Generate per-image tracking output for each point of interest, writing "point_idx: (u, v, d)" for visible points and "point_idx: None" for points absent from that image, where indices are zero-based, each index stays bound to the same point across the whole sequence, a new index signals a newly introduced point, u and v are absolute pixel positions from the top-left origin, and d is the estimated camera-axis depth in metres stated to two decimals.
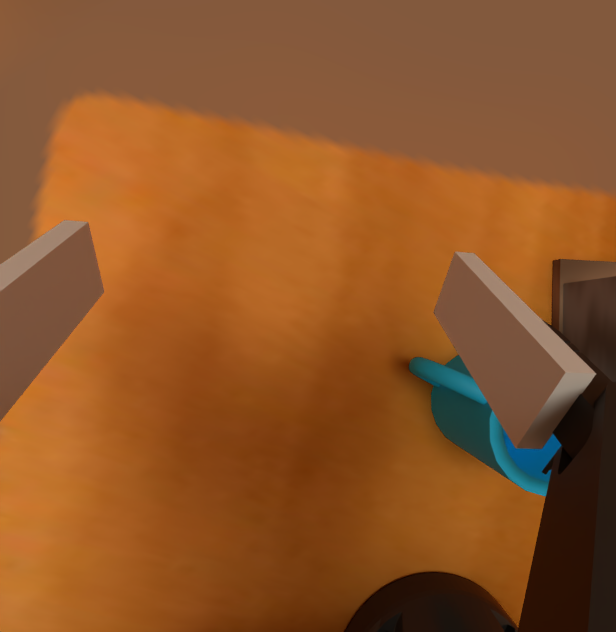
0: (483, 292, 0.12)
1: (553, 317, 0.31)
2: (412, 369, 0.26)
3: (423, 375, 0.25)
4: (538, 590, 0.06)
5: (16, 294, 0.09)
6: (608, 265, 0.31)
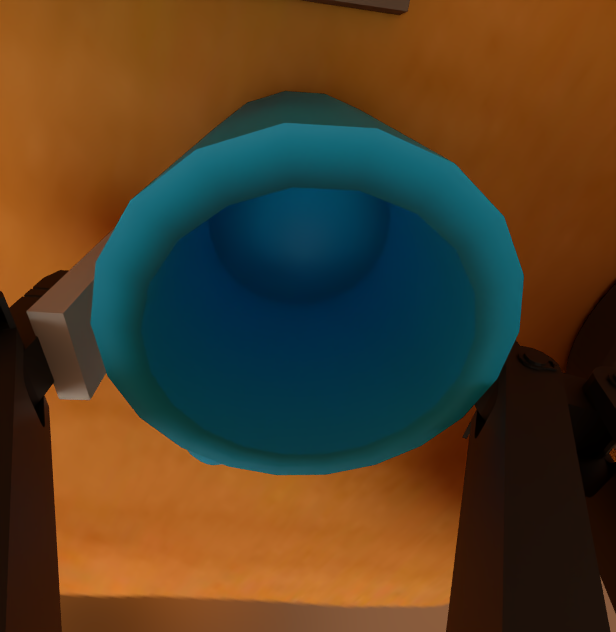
0: None
1: None
2: None
3: None
4: (464, 553, 0.07)
5: None
6: None
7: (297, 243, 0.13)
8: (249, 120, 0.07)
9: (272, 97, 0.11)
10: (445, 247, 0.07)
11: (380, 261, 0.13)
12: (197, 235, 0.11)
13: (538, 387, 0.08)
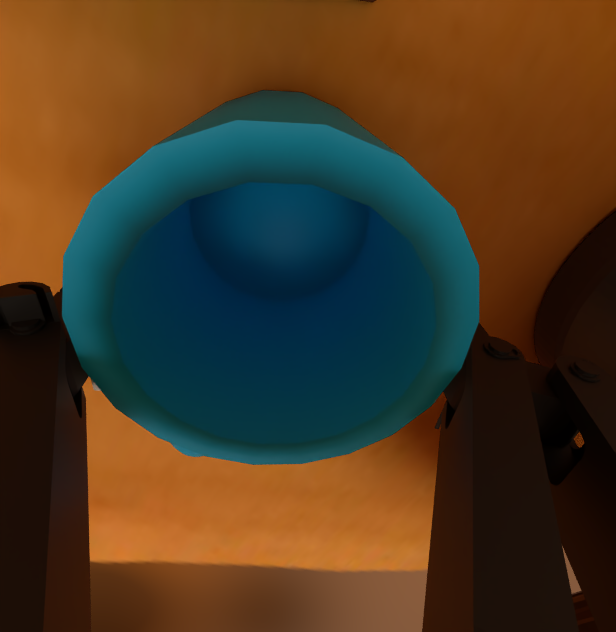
0: None
1: None
2: None
3: None
4: (438, 543, 0.07)
5: None
6: None
7: (278, 239, 0.13)
8: (213, 118, 0.07)
9: (248, 96, 0.11)
10: (406, 240, 0.07)
11: (360, 257, 0.14)
12: (177, 232, 0.11)
13: (503, 375, 0.08)
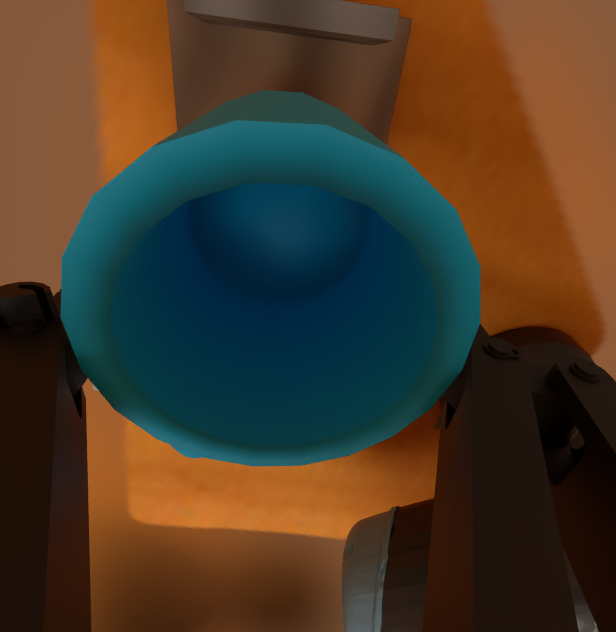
0: None
1: None
2: None
3: None
4: (438, 543, 0.07)
5: None
6: None
7: (278, 240, 0.13)
8: (213, 118, 0.07)
9: (248, 96, 0.11)
10: (407, 240, 0.07)
11: (360, 257, 0.14)
12: (176, 232, 0.11)
13: (503, 375, 0.08)
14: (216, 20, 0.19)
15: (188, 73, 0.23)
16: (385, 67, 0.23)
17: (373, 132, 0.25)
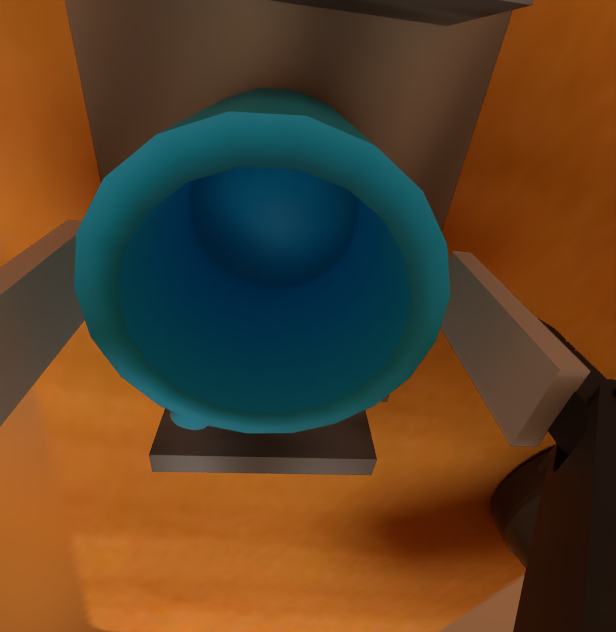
0: (479, 291, 0.12)
1: None
2: None
3: None
4: (534, 587, 0.06)
5: (21, 293, 0.09)
6: None
7: (273, 229, 0.14)
8: (210, 111, 0.08)
9: (244, 93, 0.12)
10: (384, 222, 0.08)
11: (350, 246, 0.14)
12: (177, 220, 0.12)
13: None
14: None
15: (108, 77, 0.12)
16: (464, 65, 0.13)
17: (433, 176, 0.15)
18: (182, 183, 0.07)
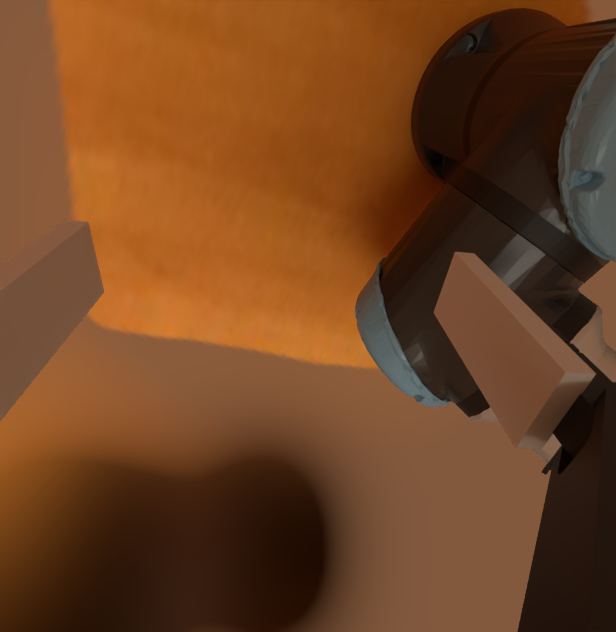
0: (483, 292, 0.12)
1: None
2: None
3: None
4: (538, 590, 0.06)
5: (16, 294, 0.09)
6: None
7: None
8: None
9: None
10: None
11: None
12: None
13: None
14: None
15: None
16: None
17: None
18: None
